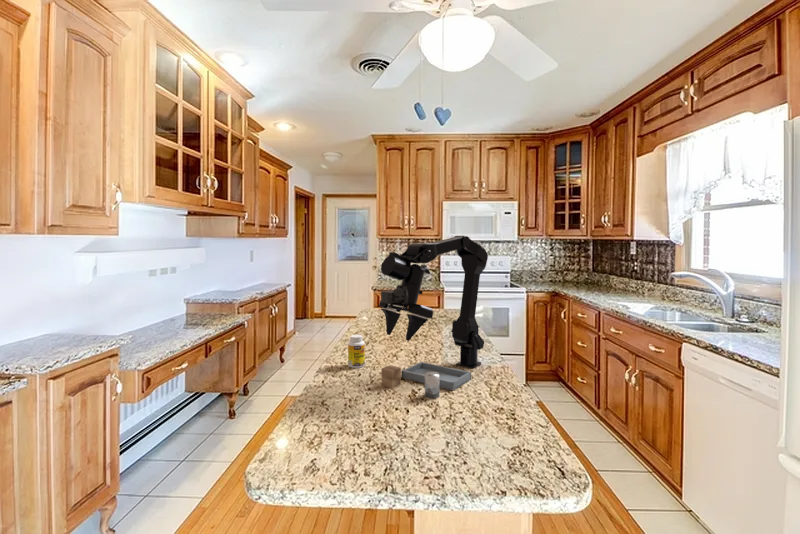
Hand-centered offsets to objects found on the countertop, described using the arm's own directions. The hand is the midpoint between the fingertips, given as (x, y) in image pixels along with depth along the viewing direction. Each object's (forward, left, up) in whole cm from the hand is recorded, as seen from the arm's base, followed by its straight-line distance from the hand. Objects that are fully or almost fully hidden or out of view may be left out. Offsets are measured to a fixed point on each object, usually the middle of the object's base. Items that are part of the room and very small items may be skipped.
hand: (397, 337), depth 114 cm
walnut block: (0, -3, -14) cm, 15 cm away
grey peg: (0, +11, -14) cm, 18 cm away
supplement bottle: (-7, -23, -15) cm, 28 cm away
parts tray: (-12, +5, -14) cm, 20 cm away
